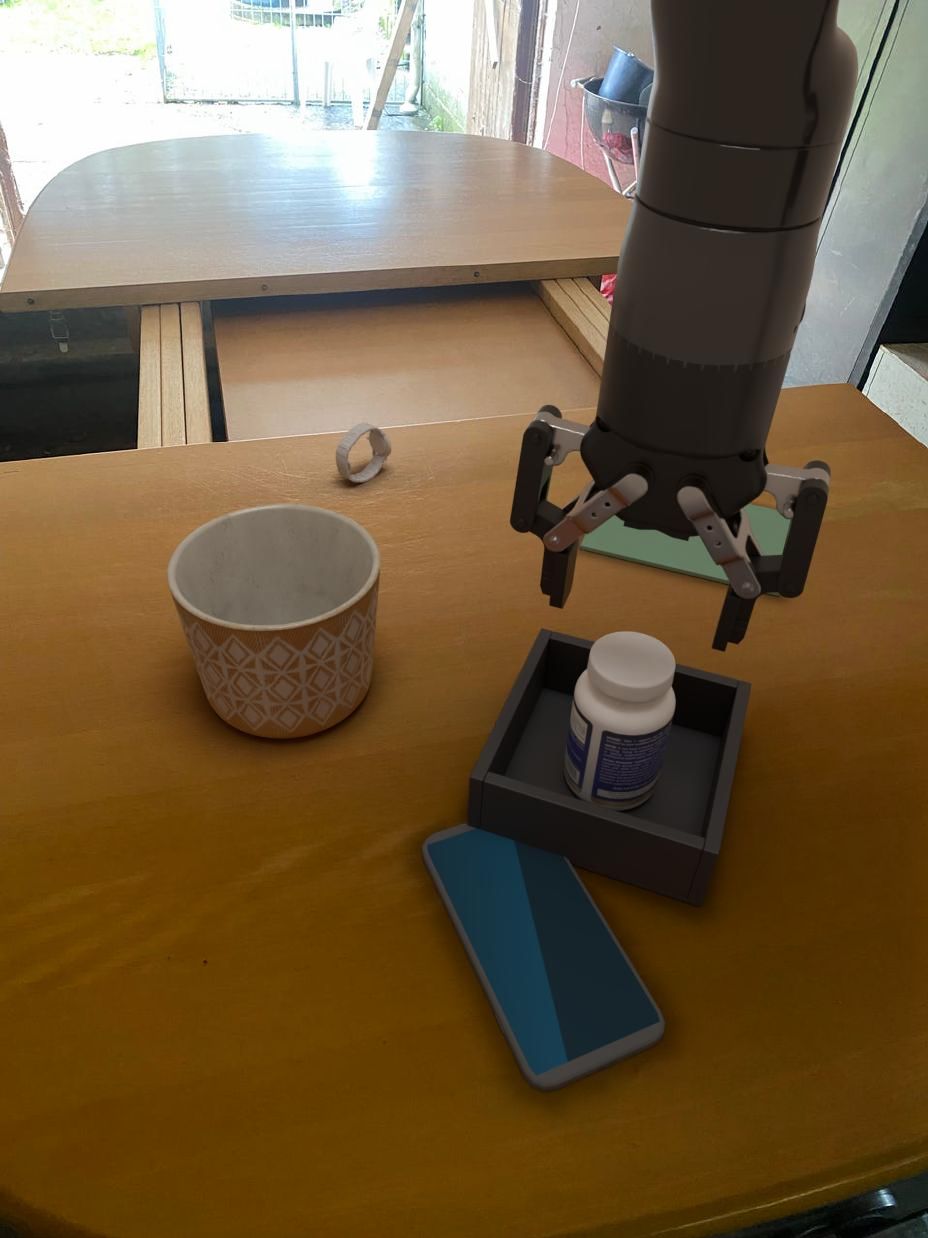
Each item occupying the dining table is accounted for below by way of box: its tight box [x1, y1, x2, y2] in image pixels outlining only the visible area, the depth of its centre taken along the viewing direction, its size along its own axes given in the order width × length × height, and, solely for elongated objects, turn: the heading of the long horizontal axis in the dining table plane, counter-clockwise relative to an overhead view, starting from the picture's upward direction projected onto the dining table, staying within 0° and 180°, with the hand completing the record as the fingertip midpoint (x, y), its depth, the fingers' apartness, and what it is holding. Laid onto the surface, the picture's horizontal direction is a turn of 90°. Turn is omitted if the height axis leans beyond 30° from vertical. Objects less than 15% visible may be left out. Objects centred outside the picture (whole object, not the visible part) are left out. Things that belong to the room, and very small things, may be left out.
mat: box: [579, 503, 791, 597], centre depth 77 cm, size 16×12×1 cm
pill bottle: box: [564, 630, 676, 811], centre depth 53 cm, size 6×6×10 cm
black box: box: [466, 627, 753, 908], centre depth 55 cm, size 14×14×5 cm
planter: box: [166, 503, 382, 739], centre depth 59 cm, size 13×13×10 cm
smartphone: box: [421, 822, 666, 1093], centre depth 48 cm, size 8×15×1 cm, turn 23°
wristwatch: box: [335, 422, 392, 483], centre depth 81 cm, size 3×5×5 cm, turn 139°
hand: (639, 619), depth 48 cm, fingers open, 8 cm apart
